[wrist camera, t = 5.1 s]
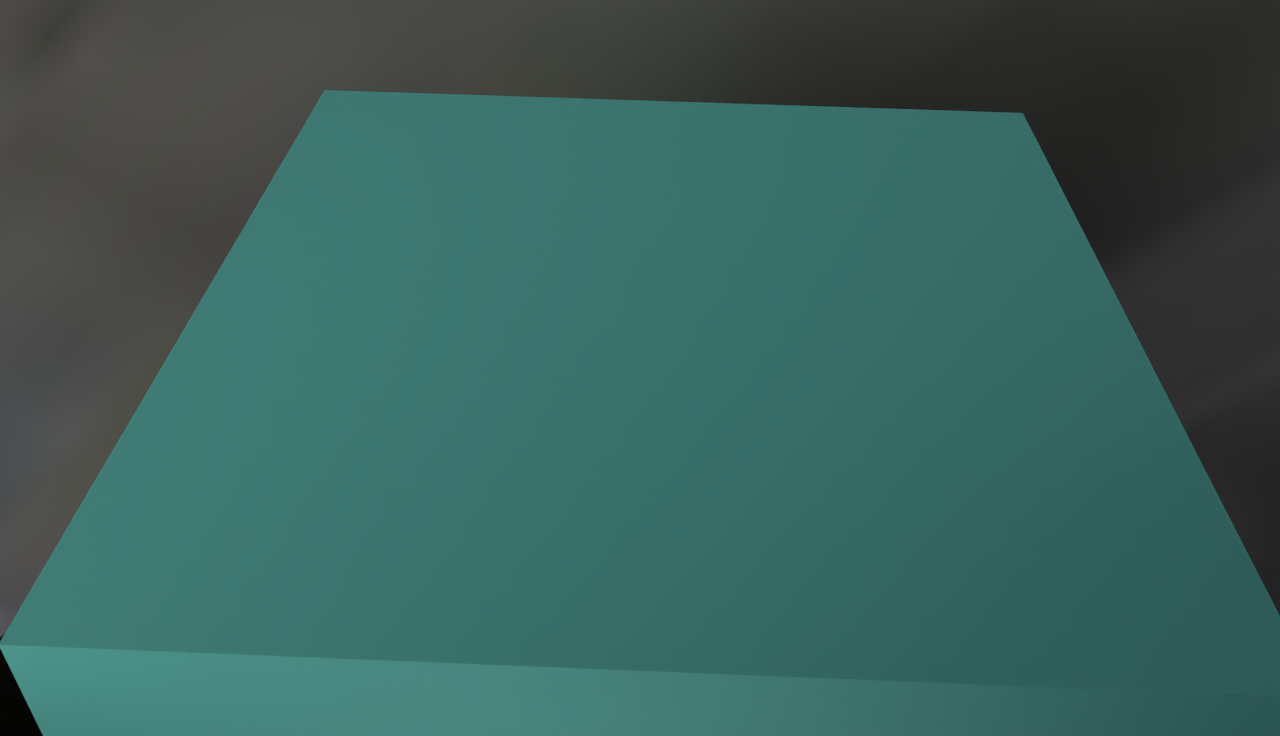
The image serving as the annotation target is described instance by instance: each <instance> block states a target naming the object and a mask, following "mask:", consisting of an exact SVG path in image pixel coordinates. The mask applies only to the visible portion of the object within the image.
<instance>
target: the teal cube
mask: <svg viewBox="0 0 1280 736" xmlns="http://www.w3.org/2000/svg"><path fill="white" fill-rule="evenodd" d="M0 649H1V651H2V653H3V655H4V657H5V659H6V661H7V663H8V665H9V667H10V669H11V671H12V673H13V675H14V677H15V679H16V681H17V684H18V686H19V688H20V690H21V692H22V694H23V696H24V698H25V700H26V702H27V704H28V706H29V708H30V710H31V712H32V714H33V716H34V718H35V720H36V722H37V724H38V726H39V728H40V730H41V732H42V735H43V736H1280V615H1279V614H1278V612H1277V610H1276V608H1275V606H1274V604H1273V602H1272V600H1271V598H1270V596H1269V594H1268V592H1267V590H1266V588H1265V586H1264V584H1263V582H1262V580H1261V578H1260V576H1259V574H1258V572H1257V570H1256V568H1255V567H1254V565H1253V563H1252V561H1251V559H1250V557H1249V555H1248V553H1247V551H1246V549H1245V547H1244V545H1243V543H1242V541H1241V539H1240V537H1239V535H1238V533H1237V531H1236V529H1235V527H1234V525H1233V523H1232V522H1231V520H1230V518H1229V516H1228V514H1227V512H1226V510H1225V508H1224V506H1223V504H1222V502H1221V500H1220V498H1219V496H1218V494H1217V492H1216V490H1215V488H1214V486H1213V484H1212V482H1211V480H1210V478H1209V476H1208V475H1207V473H1206V471H1205V469H1204V467H1203V465H1202V463H1201V461H1200V459H1199V457H1198V455H1197V453H1196V451H1195V449H1194V447H1193V445H1192V443H1191V441H1190V439H1189V437H1188V435H1187V433H1186V431H1185V430H1184V428H1183V426H1182V424H1181V422H1180V420H1179V418H1178V416H1177V414H1176V412H1175V410H1174V408H1173V406H1172V404H1171V402H1170V400H1169V398H1168V396H1167V394H1166V392H1165V390H1164V388H1163V386H1162V385H1161V383H1160V381H1159V379H1158V377H1157V375H1156V373H1155V371H1154V369H1153V367H1152V365H1151V363H1150V361H1149V359H1148V357H1147V355H1146V353H1145V351H1144V349H1143V347H1142V345H1141V343H1140V341H1139V340H1138V338H1137V336H1136V334H1135V332H1134V330H1133V328H1132V326H1131V324H1130V322H1129V320H1128V318H1127V316H1126V314H1125V312H1124V310H1123V308H1122V306H1121V304H1120V302H1119V300H1118V298H1117V296H1116V294H1115V293H1114V291H1113V289H1112V287H1111V285H1110V283H1109V281H1108V279H1107V277H1106V275H1105V273H1104V271H1103V269H1102V267H1101V265H1100V263H1099V261H1098V259H1097V257H1096V255H1095V253H1094V251H1093V249H1092V248H1091V246H1090V244H1089V242H1088V240H1087V238H1086V236H1085V234H1084V232H1083V230H1082V228H1081V226H1080V224H1079V222H1078V220H1077V218H1076V216H1075V214H1074V212H1073V210H1072V208H1071V206H1070V204H1069V203H1068V201H1067V199H1066V197H1065V195H1064V193H1063V191H1062V189H1061V187H1060V185H1059V183H1058V181H1057V179H1056V177H1055V175H1054V173H1053V171H1052V169H1051V167H1050V165H1049V163H1048V161H1047V159H1046V157H1045V156H1044V154H1043V152H1042V150H1041V148H1040V146H1039V144H1038V142H1037V140H1036V138H1035V136H1034V134H1033V132H1032V130H1031V128H1030V126H1029V124H1028V122H1027V120H1026V118H1025V116H1024V114H1023V113H1008V112H977V111H947V110H916V109H885V108H855V107H824V106H794V105H763V104H732V103H702V102H671V101H641V100H610V99H579V98H549V97H518V96H488V95H457V94H426V93H396V92H365V91H335V90H324V92H323V94H322V95H321V97H320V99H319V101H318V102H317V104H316V106H315V107H314V109H313V111H312V112H311V114H310V116H309V118H308V119H307V121H306V123H305V124H304V126H303V128H302V130H301V131H300V133H299V135H298V136H297V138H296V140H295V141H294V143H293V145H292V147H291V148H290V150H289V152H288V153H287V155H286V157H285V158H284V160H283V162H282V164H281V165H280V167H279V169H278V170H277V172H276V174H275V175H274V177H273V179H272V181H271V182H270V184H269V186H268V187H267V189H266V191H265V192H264V194H263V196H262V198H261V199H260V201H259V203H258V204H257V206H256V208H255V209H254V211H253V213H252V215H251V216H250V218H249V220H248V221H247V223H246V225H245V226H244V228H243V230H242V232H241V233H240V235H239V237H238V238H237V240H236V242H235V243H234V245H233V247H232V249H231V250H230V252H229V254H228V255H227V257H226V259H225V260H224V262H223V264H222V266H221V267H220V269H219V271H218V272H217V274H216V276H215V277H214V279H213V281H212V283H211V284H210V286H209V288H208V289H207V291H206V293H205V294H204V296H203V298H202V300H201V301H200V303H199V305H198V306H197V308H196V310H195V311H194V313H193V315H192V317H191V318H190V320H189V322H188V323H187V325H186V327H185V328H184V330H183V332H182V334H181V335H180V337H179V339H178V340H177V342H176V344H175V345H174V347H173V349H172V351H171V352H170V354H169V356H168V357H167V359H166V361H165V362H164V364H163V366H162V368H161V369H160V371H159V373H158V374H157V376H156V378H155V379H154V381H153V383H152V385H151V386H150V388H149V390H148V391H147V393H146V395H145V396H144V398H143V400H142V402H141V403H140V405H139V407H138V408H137V410H136V412H135V413H134V415H133V417H132V419H131V420H130V422H129V424H128V425H127V427H126V429H125V430H124V432H123V434H122V436H121V437H120V439H119V441H118V442H117V444H116V446H115V447H114V449H113V451H112V453H111V454H110V456H109V458H108V459H107V461H106V463H105V464H104V466H103V468H102V470H101V471H100V473H99V475H98V476H97V478H96V480H95V481H94V483H93V485H92V487H91V488H90V490H89V492H88V493H87V495H86V497H85V498H84V500H83V502H82V504H81V505H80V507H79V509H78V510H77V512H76V514H75V515H74V517H73V519H72V521H71V522H70V524H69V526H68V527H67V529H66V531H65V532H64V534H63V536H62V538H61V539H60V541H59V543H58V544H57V546H56V548H55V549H54V551H53V553H52V555H51V556H50V558H49V560H48V561H47V563H46V565H45V566H44V568H43V570H42V572H41V573H40V575H39V577H38V578H37V580H36V582H35V583H34V585H33V587H32V589H31V590H30V592H29V594H28V595H27V597H26V599H25V600H24V602H23V604H22V606H21V607H20V609H19V611H18V612H17V614H16V616H15V618H14V619H13V621H12V623H11V624H10V626H9V628H8V629H7V631H6V633H5V635H4V636H3V638H2V640H1V641H0Z"/></svg>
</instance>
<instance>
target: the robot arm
mask: <svg viewBox="0 0 1280 736" xmlns="http://www.w3.org/2000/svg"><path fill="white" fill-rule="evenodd" d="M4 635H5V634H4ZM4 635H2V636H1V637H0V641H1V640H2V638H3V636H4ZM0 736H43V735H42V732H41V730H40V728H39V726H38V724H37V722H36V720H35V718H34V716H33V714H32V712H31V710H30V708H29V706H28V704H27V702H26V700H25V698H24V696H23V694H22V692H21V690H20V688H19V686H18V684H17V681H16V679H15V677H14V675H13V673H12V671H11V669H10V667H9V665H8V663H7V661H6V659H5V657H4V655H3V653H2V651H1V649H0Z"/></svg>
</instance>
